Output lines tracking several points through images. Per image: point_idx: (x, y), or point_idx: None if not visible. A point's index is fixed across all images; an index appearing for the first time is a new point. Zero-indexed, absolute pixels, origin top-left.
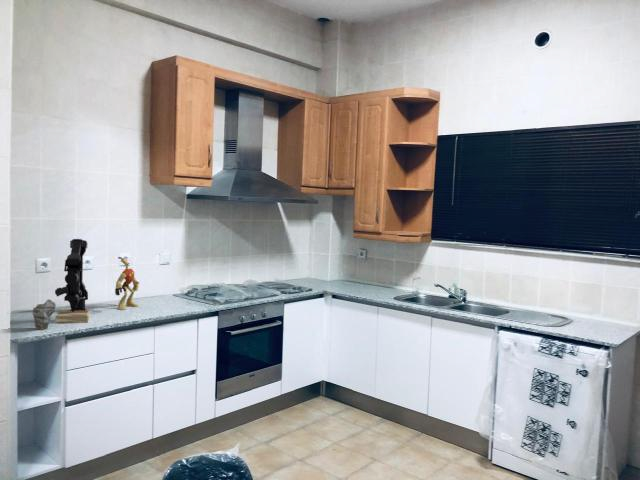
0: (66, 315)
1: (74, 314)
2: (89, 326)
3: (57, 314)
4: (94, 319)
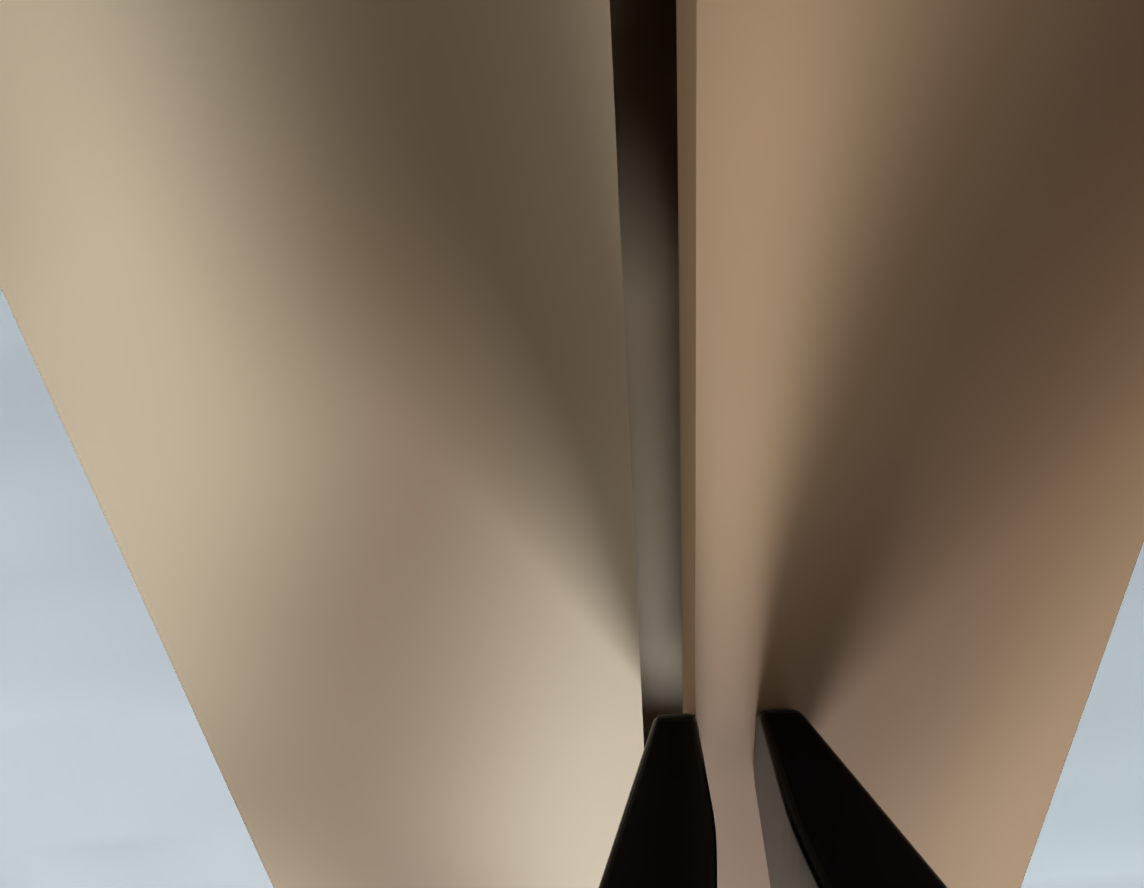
0: (126, 533)
1: (309, 782)
2: (18, 862)
3: (182, 10)
4: None
